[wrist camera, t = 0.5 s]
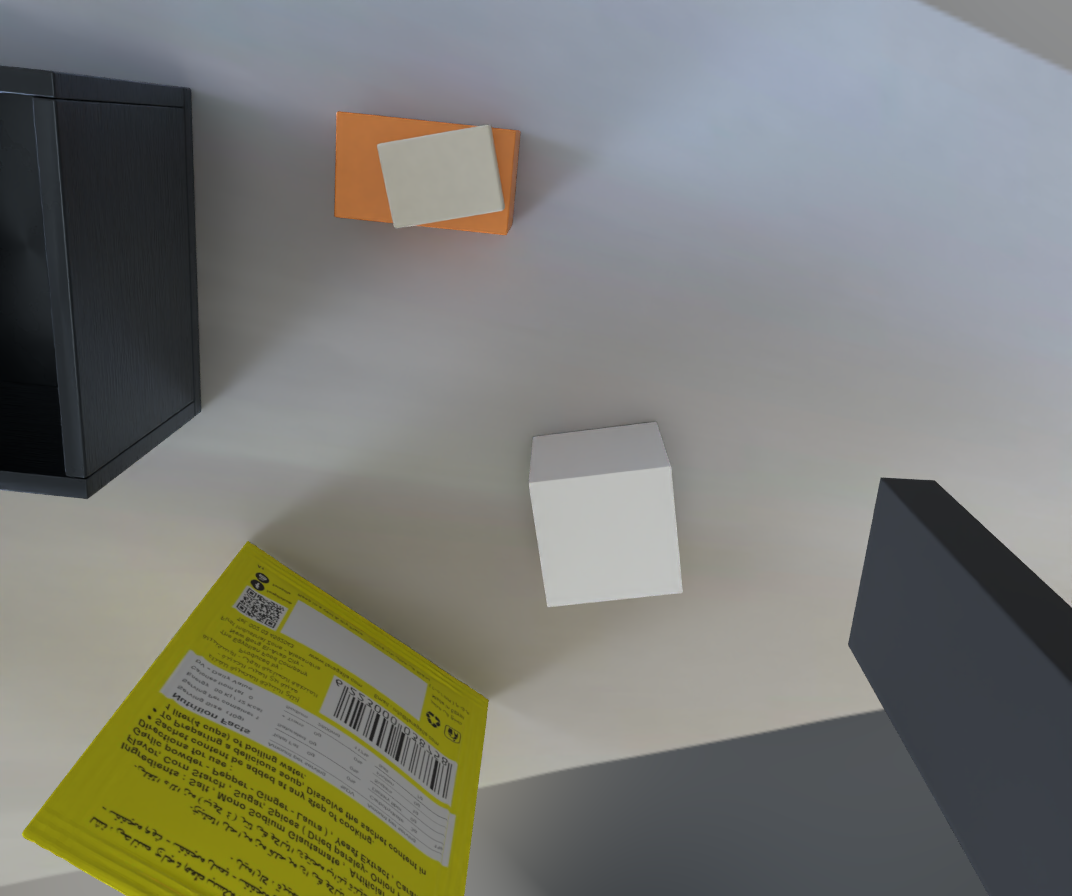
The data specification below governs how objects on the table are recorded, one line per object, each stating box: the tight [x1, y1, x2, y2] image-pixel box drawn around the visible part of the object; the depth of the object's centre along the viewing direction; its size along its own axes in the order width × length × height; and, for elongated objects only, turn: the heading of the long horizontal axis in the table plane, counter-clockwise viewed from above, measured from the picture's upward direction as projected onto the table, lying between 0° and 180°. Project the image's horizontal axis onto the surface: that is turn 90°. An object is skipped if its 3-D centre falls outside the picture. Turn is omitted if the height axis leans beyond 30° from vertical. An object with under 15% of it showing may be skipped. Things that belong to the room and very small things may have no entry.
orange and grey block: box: [334, 111, 521, 235], centre depth 36 cm, size 4×7×5 cm, turn 84°
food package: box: [22, 541, 489, 896], centre depth 37 cm, size 15×1×20 cm, turn 52°
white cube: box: [529, 422, 683, 607], centre depth 40 cm, size 6×6×6 cm
